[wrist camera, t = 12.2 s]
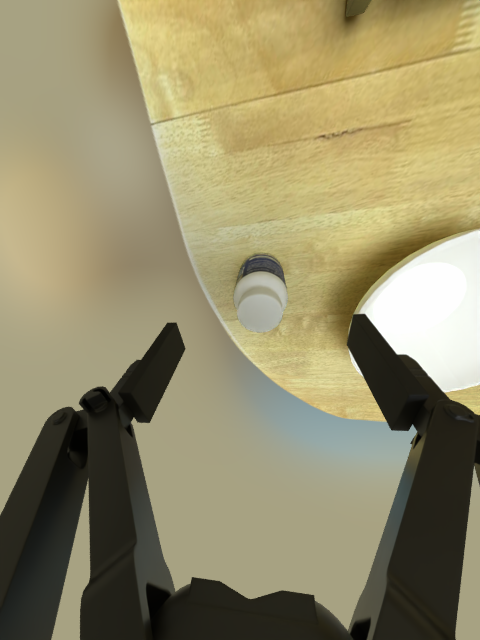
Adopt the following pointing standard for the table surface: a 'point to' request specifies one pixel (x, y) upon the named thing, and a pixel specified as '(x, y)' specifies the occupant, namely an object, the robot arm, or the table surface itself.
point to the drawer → (356, 7)
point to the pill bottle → (260, 293)
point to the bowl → (433, 309)
